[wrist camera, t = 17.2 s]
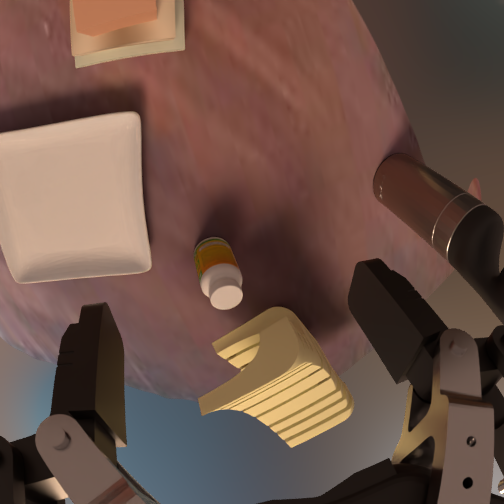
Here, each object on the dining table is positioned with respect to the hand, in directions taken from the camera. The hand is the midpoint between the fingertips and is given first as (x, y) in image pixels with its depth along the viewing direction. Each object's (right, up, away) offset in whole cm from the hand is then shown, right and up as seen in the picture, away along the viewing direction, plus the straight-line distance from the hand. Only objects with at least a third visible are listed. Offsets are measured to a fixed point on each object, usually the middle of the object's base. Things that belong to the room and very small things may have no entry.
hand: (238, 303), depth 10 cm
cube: (-10, +22, +8) cm, 26 cm away
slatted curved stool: (+3, -15, +50) cm, 53 cm away
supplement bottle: (-5, +2, +36) cm, 36 cm away
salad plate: (-23, +8, +25) cm, 35 cm away
